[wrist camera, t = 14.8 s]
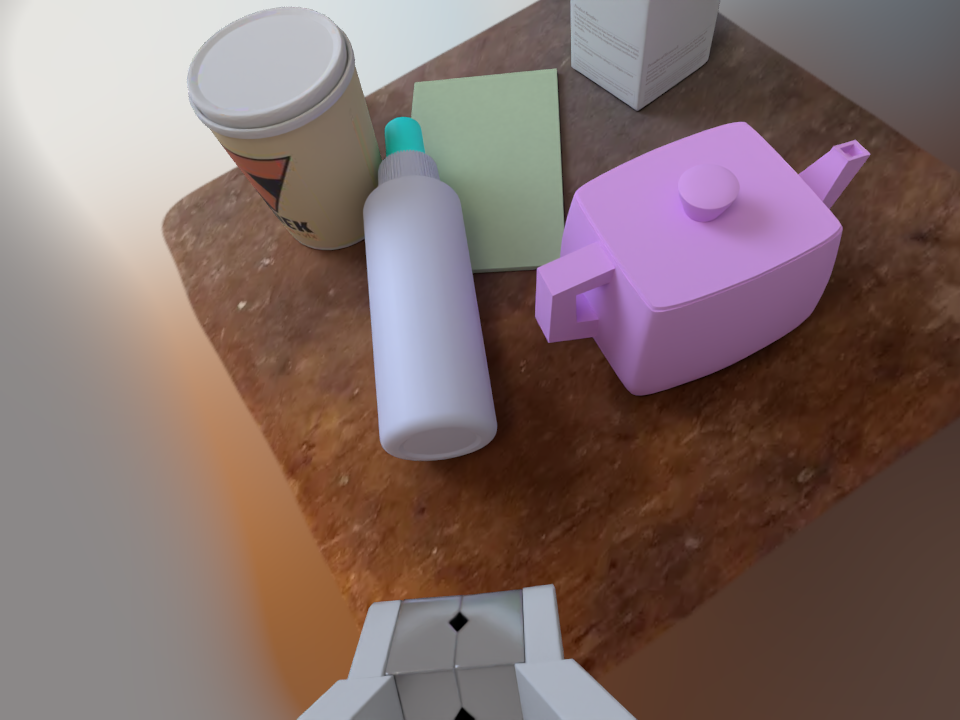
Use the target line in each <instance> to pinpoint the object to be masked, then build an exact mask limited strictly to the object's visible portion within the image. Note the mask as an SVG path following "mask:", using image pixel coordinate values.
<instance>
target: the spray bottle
mask: <svg viewBox="0 0 960 720" xmlns="http://www.w3.org/2000/svg"><path fill="white" fill-rule="evenodd" d="M385 145H386V158H385V159H384V160H383V161H382V162H381V164H380V166H379V169H378V187H377V188H376V189H374V190H373V191H372V192H371V193H370V195H369V196H368V198H367V199H366V201H365V204H364V208H363V219H364V233H365V246H366V259H367V273H368V286H369V299H370V313H371V326H372V340H373V353H374V366H375V380H376V393H377V406H378V420H379V433H380V442H381V445H382V447H383V448H384V450H385V451H386V452H388V453H389V454H391V455H393V456H395V457H397V458H401V459H406V460H414V461H434V460H443V459H449V458H454V457H459V456H462V455H466V454H469V453H472V452H474V451H476V450H479V449H481V448H483V447H484V446H486V445H487V444H488V443H489V442H491V441H492V440H493V438H494V437H495V435H496V432H497V421H496V415H495V408H494V402H493V396H492V390H491V384H490V378H489V372H488V366H487V360H486V354H485V347H484V341H483V335H482V329H481V323H480V317H479V311H478V305H477V299H476V293H475V286H474V280H473V274H472V268H471V262H470V256H469V250H468V244H467V238H466V232H465V226H464V219H463V213H462V207H461V202H460V199H459V197H458V195H457V194H456V192H455V191H454V190H453V189H452V188H451V187H450V186H449V185H447V184H446V183H444V182H442V181H440V178H439V173H438V168H437V165H436V163H435V162H434V160H433V158H431V157H430V156H429V155H426V153H425V148H424V142H423V136H422V130H421V126H420V125H419V123H418V122H417V121H415V120H414V119H412V118H408V117H399V118H395V119H393V120H391V121H390V122H389V123H388V124H387V125H386V127H385Z"/></svg>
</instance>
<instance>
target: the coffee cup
mask: <svg viewBox="0 0 960 720" xmlns="http://www.w3.org/2000/svg"><path fill="white" fill-rule="evenodd" d="M187 84H188V91H189V92H188V94H189V100H190V104H191V106H192V108H193V110H194V112H195V114H196V115H197V116H198V118H199V119H200V120H201V121H202V122H203V123H204V124H205V125H206V126H207V127H208V128H210V130H211V131H212V132H213V134H214V135H215V136H216V138H217V139H218V141H219V142H220V143H221V145H222V146H223V147H224V149H225V150H226V151H227V152H228V154H229V155H230V157H231V158H232V159H233V161H234V162H235V163H236V164H237V166H238V167H239V168H240V170H241V171H242V172H243V174H244V175H245V176H246V177H247V179H248V180H249V181H250V183H251V184H252V185H253V187H254V188H255V189H256V190H257V192H258V193H259V194H260V196H261V197H262V198H263V199H264V201H265V202H266V203H267V205H268V206H269V207H270V208H271V210H272V211H273V212H274V214H275V215H276V216H277V217H278V219H279V220H280V221H281V223H282V224H283V225H284V226H285V228H286V229H287V230H288V231H289V232H290V234H291V235H292V236H293V237H294V238H295V239H296V240H298V241H299V242H300V243H302V244H304V245H306V246H308V247H311V248H314V249H319V250H335V249H341V248H345V247H348V246H351V245H353V244H356V243H358V242H360V241H361V240H363V239H365V233H364V219H363V208H364V204H365V201H366V199H367V198H368V196H369V195H370V193H371V192H372V191H373V190H374V189H376V188H377V187H378V169H379V166H380V164H381V162H382V159H381V156H380V152H379V148H378V145H377V141H376V138H375V134H374V130H373V127H372V123H371V119H370V116H369V112H368V108H367V105H366V101H365V98H364V95H363V91H362V88H361V84H360V81H359V78H358V74H357V71H356V67H355V59H354V53H353V49H352V46H351V43H350V41H349V39H348V37H347V36H346V34H345V33H344V32H343V31H342V30H341V29H340V28H339V27H338V26H337V25H336V24H335V23H334V22H333V21H332V20H331V19H330V18H328V17H327V16H325V15H324V14H321V13H319V12H317V11H314V10H311V9H307V8H301V7H279V8H272V9H267V10H262V11H259V12H255V13H252V14H249V15H247V16H244V17H242V18H240V19H238V20H236V21H234V22H232V23H230V24H228V25H227V26H225V27H224V28H222V29H221V30H219V31H218V32H216V33H215V34H214V35H213V36H212V37H210V38H209V39H208V40H207V41H206V42H205V43H204V44H203V45H202V47H201V48H200V49H199V50H198V52H197V53H196V55H195V57H194V58H193V60H192V62H191V64H190V67H189V70H188V76H187Z"/></svg>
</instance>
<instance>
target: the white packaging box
mask: <svg viewBox="0 0 960 720" xmlns="http://www.w3.org/2000/svg"><path fill="white" fill-rule="evenodd" d="M719 4H720V0H571V65H572V68H574V69H575V70H577V71H578V72H580V73H582V74H583V75H585V76H586V77H588V78H589V79H591V80H592V81H594V82H595V83H596V84H598V85H599V86H601V87H602V88H604V89H605V90H607V91H608V92H610V93H612V94H613V95H614V96H616V97H617V98H619V99H620V100H622V101H623V102H625V103H626V104H628V105H629V106H631V107H632V108H633V109H635V110H637V111H638V110H640V109H641V108H643V107H644V106H646V105H647V104H649V103H650V102H652V101H653V100H655V99H656V98H657V97H659V96H660V95H662V94H663V93H665V92H666V91H667V90H669V89H670V88H671V87H673V86H674V85H676V84H677V83H679V82H680V81H682V80H683V79H684V78H686V77H687V76H689V75H690V74H691V73H693V72H694V71H696V70H697V69H698V68H700V67H701V66H702V65H704V64H705V63H706V62H707V61H708V58H709V53H710V48H711V43H712V38H713V34H714V29H715V24H716V19H717V14H718V9H719Z"/></svg>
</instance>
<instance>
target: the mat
mask: <svg viewBox="0 0 960 720" xmlns="http://www.w3.org/2000/svg"><path fill="white" fill-rule="evenodd" d="M411 118H412V119H414V120H415V121H417V122H418V123H419V125H420V126H421V130H422V136H423V142H424V148H425V153H426V155H429V156H430V157H431V158H433V160H434V162H435V163H436V165H437V168H438V173H439V178H440V181H442V182H444V183H446V184H447V185H449V186H450V187H451V188H452V189H453V190H454V191H455V192H456V194H457V195H458V197H459V199H460V202H461V207H462V213H463V219H464V226H465V232H466V238H467V244H468V250H469V256H470V262H471V268H472V273H483V272H500V271H518V270H535V269H537V268H538V267H540V266H543V265H545V264H547V263H549V262H552V261H554V260H556V259H558V258H560V252H561V243H562V237H563V232H564V209H563V187H562V166H561V145H560V123H559V102H558V81H557V69H547V70H537V71H527V72H516V73H506V74H496V75H486V76H476V77H466V78H456V79H446V80H436V81H426V82H416V83H415V85H414V95H413V104H412V114H411Z"/></svg>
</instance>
